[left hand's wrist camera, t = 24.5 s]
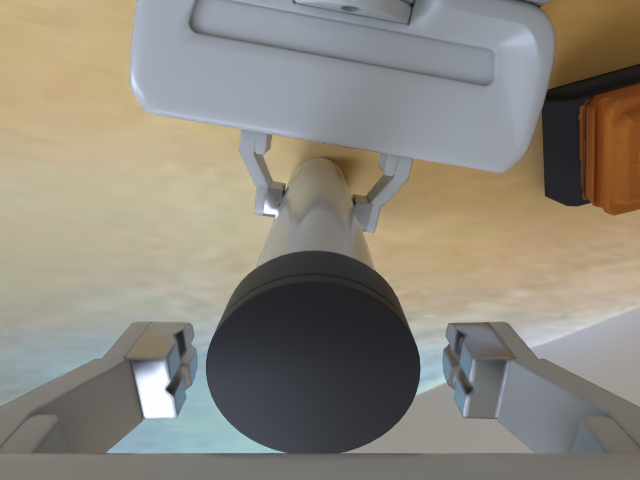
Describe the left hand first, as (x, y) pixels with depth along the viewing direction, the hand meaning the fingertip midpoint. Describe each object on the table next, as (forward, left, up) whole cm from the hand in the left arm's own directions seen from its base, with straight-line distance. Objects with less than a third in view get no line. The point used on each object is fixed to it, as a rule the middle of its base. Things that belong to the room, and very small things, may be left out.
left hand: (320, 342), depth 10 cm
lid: (0, +1, +2) cm, 2 cm away
